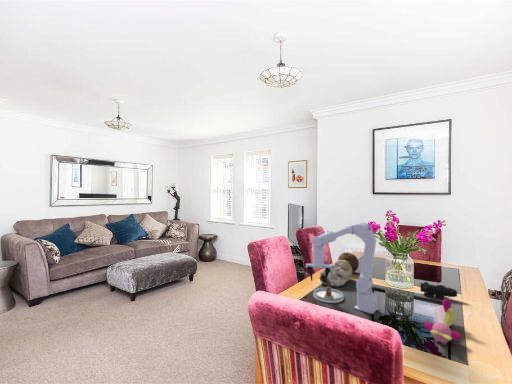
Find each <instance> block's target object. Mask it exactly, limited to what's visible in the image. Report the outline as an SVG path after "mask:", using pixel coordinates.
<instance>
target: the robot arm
mask: <svg viewBox="0 0 512 384" xmlns="http://www.w3.org/2000/svg"><path fill="white" fill-rule="evenodd" d="M348 234H350V235H355V236H356V237H358V239H360V240H361V241H363V242H364V249H363V257H362V263H361V270H360V273H359V277H358V280H357V282H356V283H355V289H356V305H355V306H354V307H353V308H354V309H355V310H358V311H362V312H365V313H368V314H372V315H374V314H375V313H376V311H377V310H378V309H379V307H378V294H376V293H375V292H373V290H372V287H373V285H374V281H373V275H372V272H373V264H374V258H375V250H376V246H377V245H376V244H377V239H376V237H375V235H374V232H373V228H372V227H371V226H370V225H369V224H368V223H366V222H360V223H359V224H358V223H355V224H351V225H348V226H346V227H343V228H341V229H338V230H337V231H332V230H327V231H326V232H325V233H322V234H321V233H320V234H319V235H317V236H314V237H313V238H312V240H311V242H312V246H313V263H305V268H306V269H307V271H308V272H309V276H310V281H313V269H323V270H325V282H326V280H327V276H328V274H329V272H330V269H332V265H333V264H325V261H324V260H325V245H328V244H330V243H333V242H335V241H336V240H337V238H339V237H342V236H345V235H348Z"/></svg>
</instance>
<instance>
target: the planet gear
mask: <svg viewBox="0 0 512 384" xmlns="http://www.w3.org/2000/svg"><path fill="white" fill-rule="evenodd" d="M325 288H326V294H324V298H332V299H333V295H331V288H332V286H330V285H327V286H326V287H325Z"/></svg>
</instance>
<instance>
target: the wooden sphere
mask: <svg viewBox="0 0 512 384" xmlns="http://www.w3.org/2000/svg"><path fill="white" fill-rule="evenodd" d="M338 260H345V261H348V262H349V264H350V265H351V267H352V272H353V273H355V272H356V271H357V270H358V269H359V266H360V265H359V264H360V263H359V259H358V257H357V256H356V255H355V254H354V253H352V252H347V251H346V252H343V253H341V254H340V255H339V256H338V258H337V261H338Z"/></svg>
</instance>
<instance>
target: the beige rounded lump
mask: <svg viewBox="0 0 512 384" xmlns="http://www.w3.org/2000/svg"><path fill="white" fill-rule="evenodd" d="M331 265H332V269H330V272H329V274H328V276H327V280H326V282H325V269H323V270H322V271H321V272H320V273H319V275H320V276H319V280H320V282H321V283H322V284H323V285H327V286H329V287H337V288H338V287H342V286H344V285H345V284H346V283H347V282H349V281H350V280H351V278H352V276H353V273H354V272H352V267H351V265H350V264H349V262H348V261H345V260H338V259H337V261H336V262H335V263H334V264H331Z"/></svg>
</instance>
